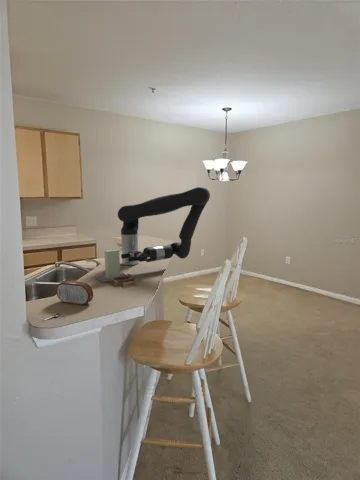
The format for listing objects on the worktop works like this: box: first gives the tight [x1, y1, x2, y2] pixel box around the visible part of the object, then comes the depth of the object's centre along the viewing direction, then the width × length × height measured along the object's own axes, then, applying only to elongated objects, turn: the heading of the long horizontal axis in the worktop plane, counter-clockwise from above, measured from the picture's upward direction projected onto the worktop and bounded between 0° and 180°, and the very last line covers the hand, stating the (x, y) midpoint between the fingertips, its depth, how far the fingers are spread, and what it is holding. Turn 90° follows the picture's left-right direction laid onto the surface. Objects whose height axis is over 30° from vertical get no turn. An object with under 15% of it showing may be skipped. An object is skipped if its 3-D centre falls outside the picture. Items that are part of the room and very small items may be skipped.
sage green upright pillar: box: [103, 248, 121, 279], centre depth 151 cm, size 4×6×13 cm, turn 125°
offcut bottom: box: [120, 283, 137, 289], centre depth 140 cm, size 4×6×1 cm, turn 124°
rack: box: [109, 274, 135, 287], centre depth 145 cm, size 7×9×2 cm
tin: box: [55, 279, 94, 306], centre depth 119 cm, size 15×3×8 cm, turn 71°
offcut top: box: [121, 281, 136, 288], centre depth 140 cm, size 3×5×1 cm, turn 122°
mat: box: [95, 272, 132, 284], centre depth 152 cm, size 10×14×1 cm
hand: (125, 257), depth 155 cm, fingers open, 8 cm apart
